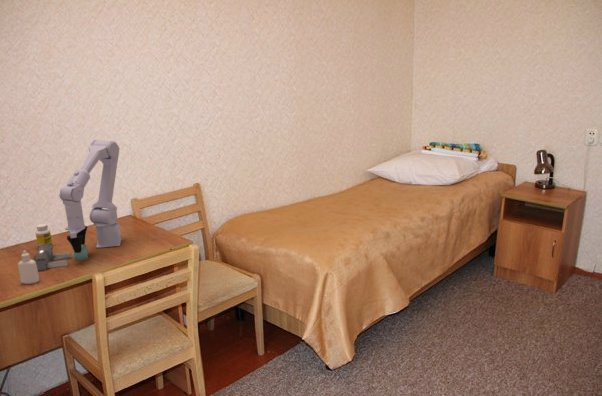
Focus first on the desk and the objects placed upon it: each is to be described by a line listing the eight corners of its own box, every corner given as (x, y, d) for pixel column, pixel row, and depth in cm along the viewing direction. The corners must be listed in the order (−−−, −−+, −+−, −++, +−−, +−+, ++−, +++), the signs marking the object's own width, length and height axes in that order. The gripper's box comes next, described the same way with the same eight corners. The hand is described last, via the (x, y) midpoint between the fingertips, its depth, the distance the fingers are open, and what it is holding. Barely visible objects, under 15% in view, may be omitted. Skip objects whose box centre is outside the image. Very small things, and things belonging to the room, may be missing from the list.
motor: (72, 255, 188) (70, 240, 186) (66, 267, 177) (63, 252, 175) (43, 258, 185) (40, 243, 183) (34, 271, 174) (31, 255, 172)
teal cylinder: (89, 255, 188) (87, 242, 186) (87, 260, 183) (85, 246, 182) (76, 256, 187) (74, 243, 185) (73, 261, 182) (71, 248, 181)
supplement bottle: (46, 249, 194) (42, 227, 191) (35, 249, 195) (31, 227, 192) (55, 244, 199) (51, 223, 196) (44, 244, 200) (40, 222, 197)
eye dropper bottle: (31, 277, 169) (25, 247, 166) (41, 280, 167) (35, 249, 163) (19, 282, 165) (13, 251, 162) (29, 286, 163) (23, 254, 159)
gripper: (67, 211, 186) (72, 243, 189) (59, 223, 172) (64, 256, 176) (86, 209, 187) (91, 241, 191) (79, 221, 174) (85, 254, 178)
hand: (79, 248), depth 184 cm, fingers open, 7 cm apart
